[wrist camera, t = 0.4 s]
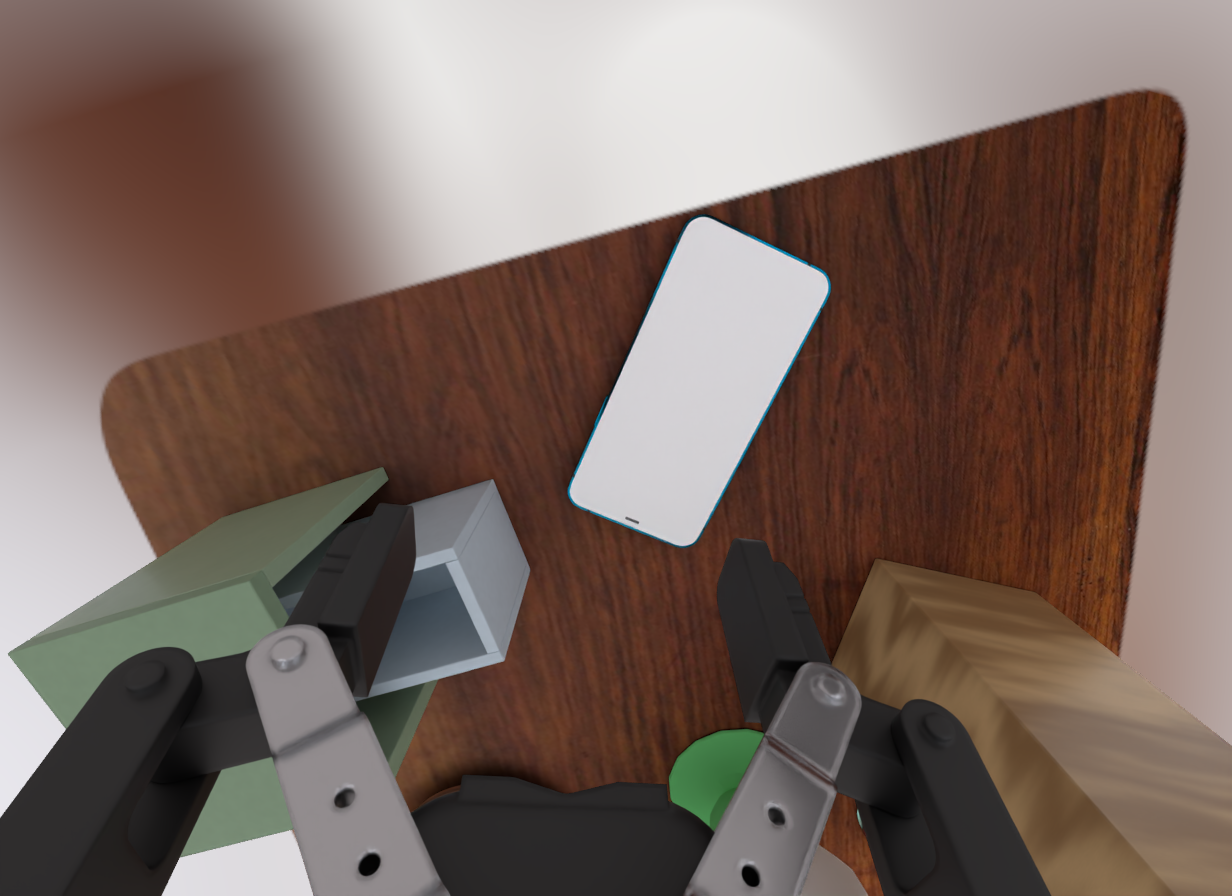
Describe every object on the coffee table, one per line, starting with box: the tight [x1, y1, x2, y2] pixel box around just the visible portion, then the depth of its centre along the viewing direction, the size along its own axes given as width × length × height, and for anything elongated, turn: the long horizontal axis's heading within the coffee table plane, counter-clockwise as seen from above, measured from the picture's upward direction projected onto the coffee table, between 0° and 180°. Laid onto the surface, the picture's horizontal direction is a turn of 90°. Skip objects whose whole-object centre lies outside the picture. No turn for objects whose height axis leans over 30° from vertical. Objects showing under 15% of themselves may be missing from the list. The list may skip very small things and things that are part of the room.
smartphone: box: [568, 214, 831, 548], centre depth 29 cm, size 8×1×16 cm
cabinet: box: [8, 467, 438, 857], centre depth 27 cm, size 10×11×12 cm
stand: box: [832, 559, 1232, 896], centre depth 24 cm, size 10×10×22 cm
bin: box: [272, 479, 530, 701], centre depth 29 cm, size 14×6×8 cm, turn 108°
